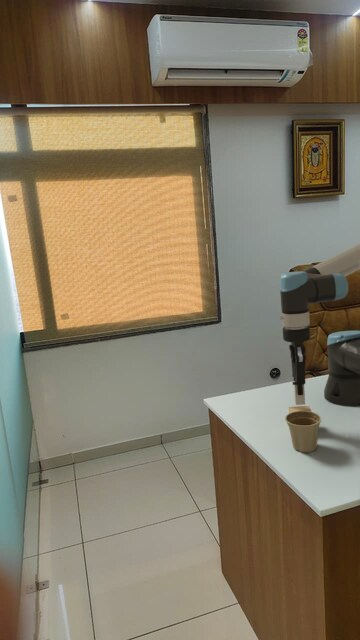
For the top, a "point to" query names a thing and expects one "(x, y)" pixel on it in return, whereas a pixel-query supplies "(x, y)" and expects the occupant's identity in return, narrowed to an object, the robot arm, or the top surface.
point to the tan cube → (299, 408)
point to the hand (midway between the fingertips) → (300, 403)
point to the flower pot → (303, 429)
